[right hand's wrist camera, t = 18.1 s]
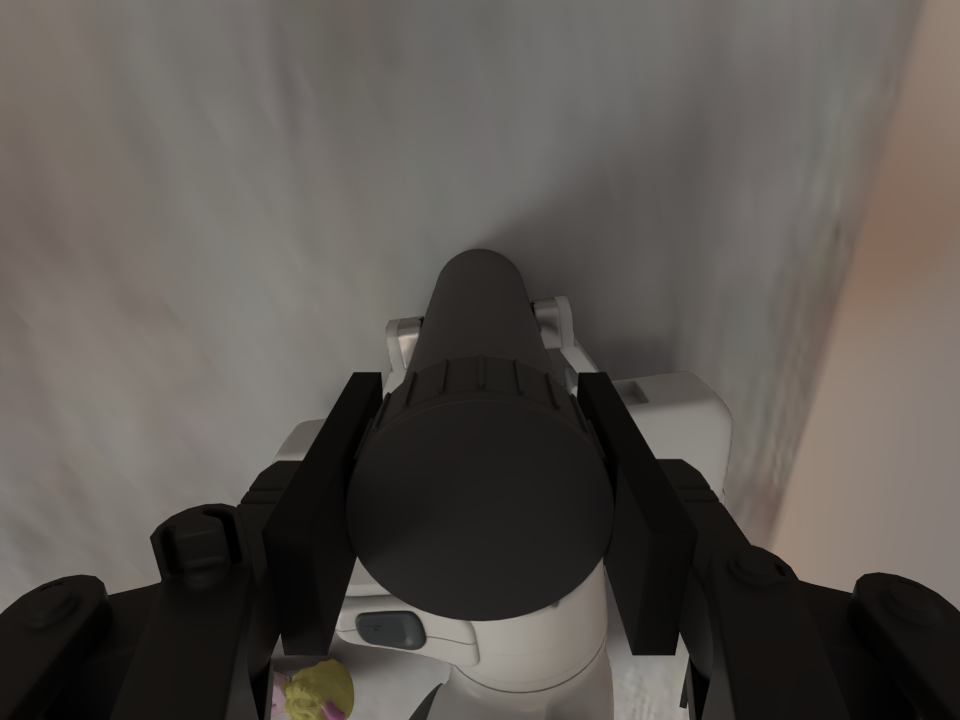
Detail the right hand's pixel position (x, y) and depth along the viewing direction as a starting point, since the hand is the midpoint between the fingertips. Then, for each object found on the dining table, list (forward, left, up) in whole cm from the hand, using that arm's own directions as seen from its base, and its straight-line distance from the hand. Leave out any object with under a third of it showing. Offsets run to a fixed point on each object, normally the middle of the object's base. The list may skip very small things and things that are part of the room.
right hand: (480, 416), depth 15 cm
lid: (0, 0, +4) cm, 4 cm away
